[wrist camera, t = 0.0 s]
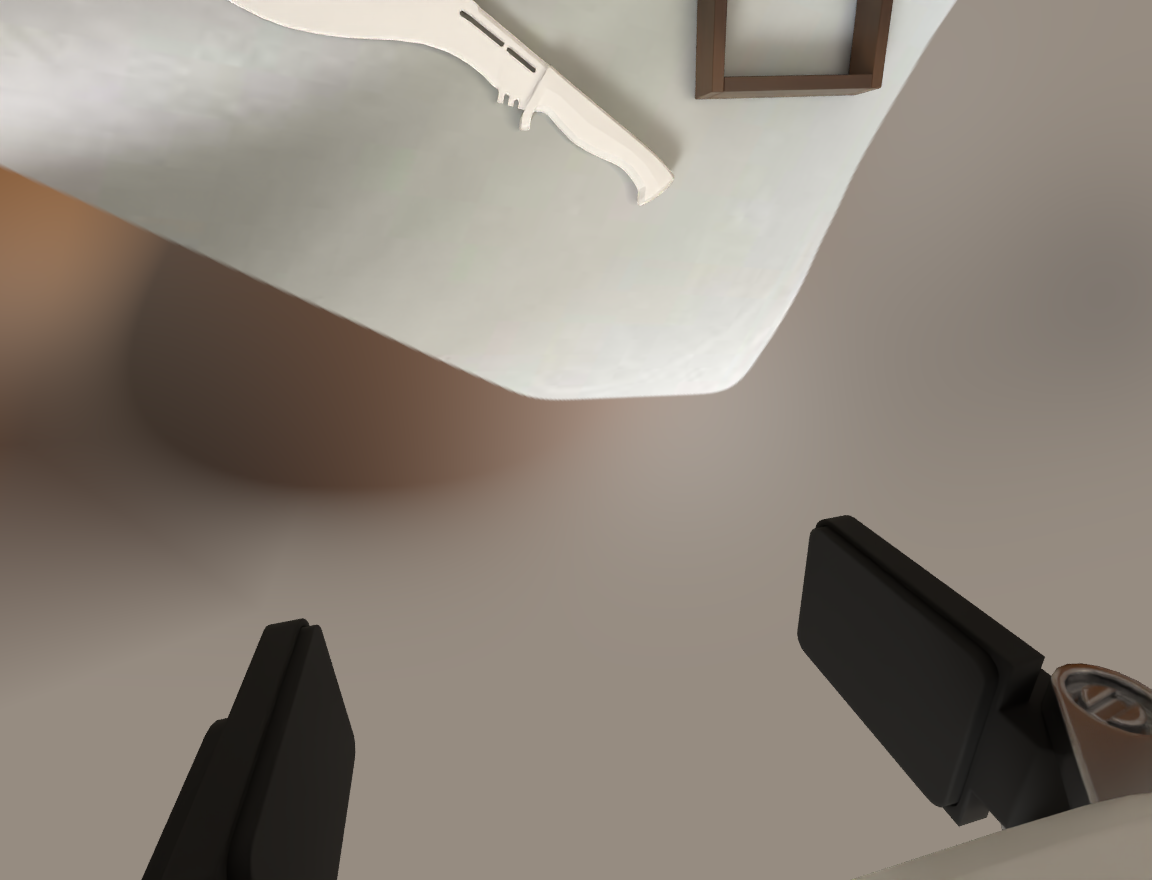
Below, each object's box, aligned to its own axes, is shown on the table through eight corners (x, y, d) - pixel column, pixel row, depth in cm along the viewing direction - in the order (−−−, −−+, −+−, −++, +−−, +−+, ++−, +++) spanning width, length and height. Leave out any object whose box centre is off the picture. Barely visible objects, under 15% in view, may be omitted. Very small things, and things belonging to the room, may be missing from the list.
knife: (127, -71, 27) (191, -243, 25) (145, -56, 28) (206, -217, 27) (615, 275, 37) (682, 171, 36) (609, 273, 39) (673, 173, 37)
